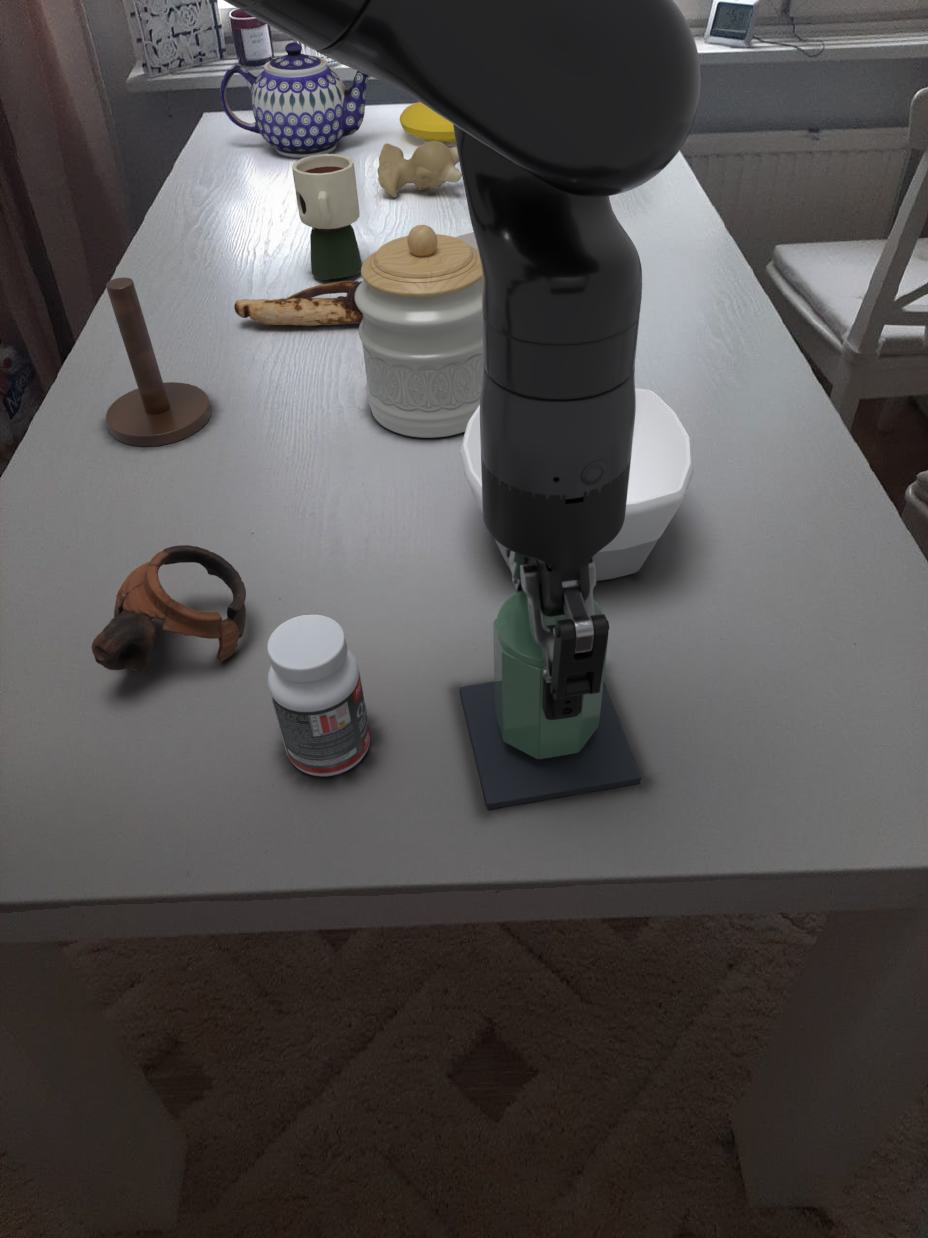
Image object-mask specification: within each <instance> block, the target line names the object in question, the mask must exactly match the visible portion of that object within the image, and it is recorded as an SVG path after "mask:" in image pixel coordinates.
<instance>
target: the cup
mask: <svg viewBox="0 0 928 1238" xmlns="http://www.w3.org/2000/svg"><path fill="white" fill-rule="evenodd" d="M594 613H595V615H598V614H604V613H603V612H602V609H601V607H600V606H599V605H598V604H597V602H595V601H594ZM542 619H543V625H545V626H549V625H555V624H556V621H559V620H565V615H559V616H553V617H549V616H545V615H544V614H542ZM492 624H493V663H494V664H493V666H494V668H493V669H494V673H493V674H494V682H495V712H496V716H497V720H498V724H499V727H500V731H501V735H502V739H503V741H504V742H505V743H507V744H509V745H511V746H513V747H515V748H517V749H519V750H520V751H522V752H524V753H526V754H528V755H530V756H532V757H534V758H536V759H545V758H551V757H557V756H563V755H569V754H575V753H578V752H580V750H581V749H582V748H583V746H584V745H585V744H586V742H587V741H588V740H589V738H590V737H591V736H592V734H593V733H594V732H595V730H596V729H597V728H598V726H599V720H600V710H601V701H602V691H603V681H604V682H605V672H606V662H607V653H608V652H607V651H608V646H607V647H606V653H605V660H604V667H603V673H602V680H601V687H600V692H599V693H595V694H584V695H583V697H582V710H581V712H580V714H578V716H576V717H570V718H563V719H557V720H548V719H546V717H545V714H544V711H543V679H544V677H543V674H542V669H543V661H542V650H541V646H540V645H538V644H537V643H536V641H535V640H534V639H533V637H532V635H531V629H530V619H529V610H528V600H527V594H526V593H525V592H524V591H523V590H522V591H519V592H518V593H517V592H516V593H515V594H512V595H511V596H509V597H508V599H506V600H505V601H504V603H502V605H501V606H500V609H499V610H498V613H497V616H496V618H495V619H494V621H493V623H492ZM608 643H609V639H608V640H607V644H608Z"/></svg>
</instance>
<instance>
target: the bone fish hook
mask: <svg viewBox="0 0 928 1238" xmlns="http://www.w3.org/2000/svg"><path fill="white" fill-rule="evenodd" d="M362 281H363V280H360V281H359V280H341V281H333V282H328V283H323V284H319V285H314V286H310V287H308V288H305V289H302V290H300V291H298V292H296V293H294V294H292V295H290V296H288V297H287V298H275V299H274V298H273V299H267V298H261V299H260V298H257V299H245V298H244V299H237V300H236V301H235V303H234V305H233V308H234V313H235V314H236V315H238V316H239V317H241V318H242V319H246V318H250V320H252V321H253V322H255V323H260V324H264V325H268V326H270V325H273V326H275V325H277V326H278V325H279V326H284V325H285V326H286V325H287V326H289V325H290V326H295V327H298V326H299V327H301V326H304V327H306V326H308V327H315V326H325V325H327V326H339V325H352V324H353V325H354V324H359V325H360V323H361V321H362V320H363V313H362V312H361V311H360V310H359V308H358V307H357V305H356V303H355V292H356V289H357V287H358V286H359V284H360V283H361V282H362ZM333 294H335V295H336V294H346V296H344V295H340V296H337V297H328V298H327V297H326V298H321V297H319V296H325V295H333ZM316 297H317V298H316Z"/></svg>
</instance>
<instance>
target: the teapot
mask: <svg viewBox="0 0 928 1238" xmlns="http://www.w3.org/2000/svg"><path fill="white" fill-rule="evenodd" d="M302 49H303V46H302V45H301V43H298V42H295V41H294V42H289V43H287V44H286V45H285V46H284V51H285V52H286V54H284V55H281V56H278V57H274V58H272V59H271V60H269V61H267V62H266V63H265V64H264V65H263V70H262V71H261V72H260V74H259V75H257V76H255V75H254V74H253V73H251V72H250V71H248V69H246V68H245V67H244V66H241V65H240V64H234V65H231V66H230V67H229V68H228V69H227V70H226V71H225V73H224V75H223V77H222V80H221V83H220V87H219V95H220V96H219V98H220V103H221V106H222V109H223V111H224V113H225V115H226V116H227V117H228V119H229V120H230V121H231V122H232V123H233V124H234V125H236V126H237V127H239V128H241V129H242V130H246V131H249V132H251V133H255V134H258V135H260V136H261V137H262V139H263V140H265V141H266V142H267V143H268V144H269V145H270V146H272V147H273V148H274V149H275V151H276V152H277V153H278V154H279V155H280V156H283V157H287V158H295V159H302V158H305V157H309V156H313V155H320V154H330V153H331V152H333V151H335V149H336V148H337V143H339V142H340V141H341V140H342V139H343V138H344V137H348V136H351V135H354V134H355V133H356V132H357V131H359V129H360V127H361V126H362V124H363V122H364V117H365V111H366V96H367V95H366V93H367V86H368V82H369V79H370V78H372V77H371V76H369V75H366V74H364V73H362V72H360V71H357V70H356V73H355V75H354V78H353V82H352V86H351V87H350V88H348V89H346V86H345V84H344V82H343V80H342V78H341V77H340V76H339V75H338V73H336V72H335V71H334V70H332V69H331V68H330V67H329V66H328V62H327V60H326V59H325V58H323V57H320V56H317V55H311V54H305V53H302ZM234 74H239V75H241V76H242V77H243V78H244V80H245V82H246V84H247V87H248V89H249V91H250V93H251V105H252V113H253V119H254V122H247V121H244V120H242V119H241V118H239V117H238V116H237V115H236V114H235V113H234V112H233V111H232V109H231V108H230V106H229V103H228V99H227V88H228V85H229V83H230V80H231V78H232V77H233V76H234Z"/></svg>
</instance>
